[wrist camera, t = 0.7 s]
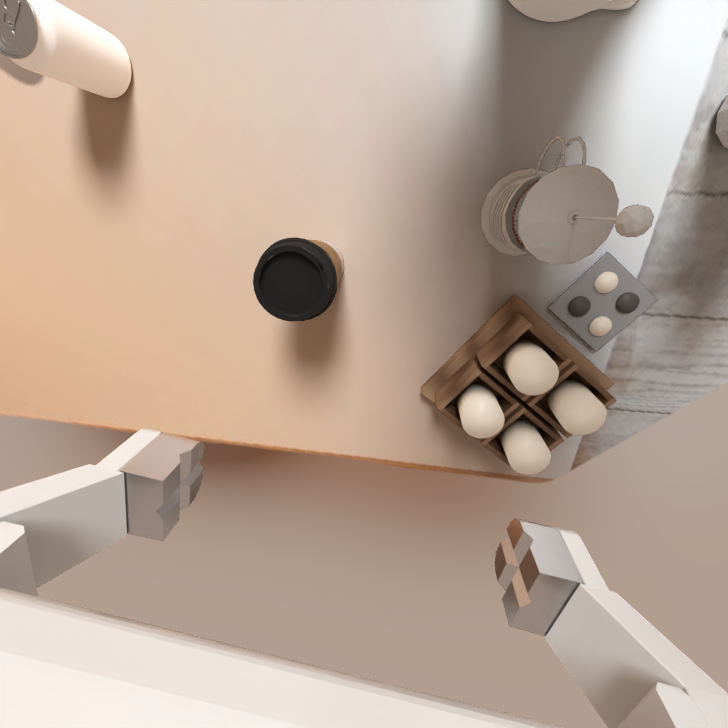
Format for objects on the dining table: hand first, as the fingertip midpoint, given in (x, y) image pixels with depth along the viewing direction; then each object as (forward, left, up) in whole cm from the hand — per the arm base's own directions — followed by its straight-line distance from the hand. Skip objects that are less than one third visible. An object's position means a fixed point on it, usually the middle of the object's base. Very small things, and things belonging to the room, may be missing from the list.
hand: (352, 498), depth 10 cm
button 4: (-2, +27, -38) cm, 46 cm away
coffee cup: (+6, -8, -43) cm, 44 cm away
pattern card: (-13, +23, -43) cm, 50 cm away
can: (+4, -41, -43) cm, 59 cm away
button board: (+2, +23, -43) cm, 49 cm away
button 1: (+6, +19, -38) cm, 43 cm away
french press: (-15, +7, -43) cm, 46 cm away
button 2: (+6, +27, -38) cm, 47 cm away
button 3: (-2, +19, -38) cm, 42 cm away
